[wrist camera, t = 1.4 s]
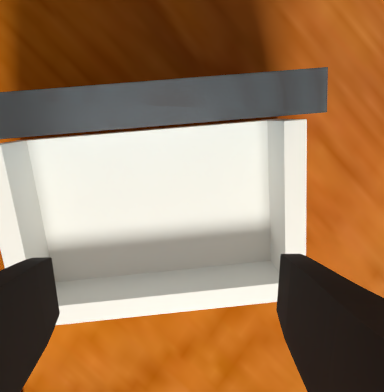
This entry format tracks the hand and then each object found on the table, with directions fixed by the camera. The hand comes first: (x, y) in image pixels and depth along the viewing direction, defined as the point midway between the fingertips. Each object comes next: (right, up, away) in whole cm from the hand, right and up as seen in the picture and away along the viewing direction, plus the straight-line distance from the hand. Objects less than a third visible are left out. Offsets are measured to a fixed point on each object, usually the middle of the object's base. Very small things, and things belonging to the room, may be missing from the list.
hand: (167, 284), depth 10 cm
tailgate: (-1, +6, +6) cm, 9 cm away
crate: (-1, +2, +8) cm, 9 cm away
